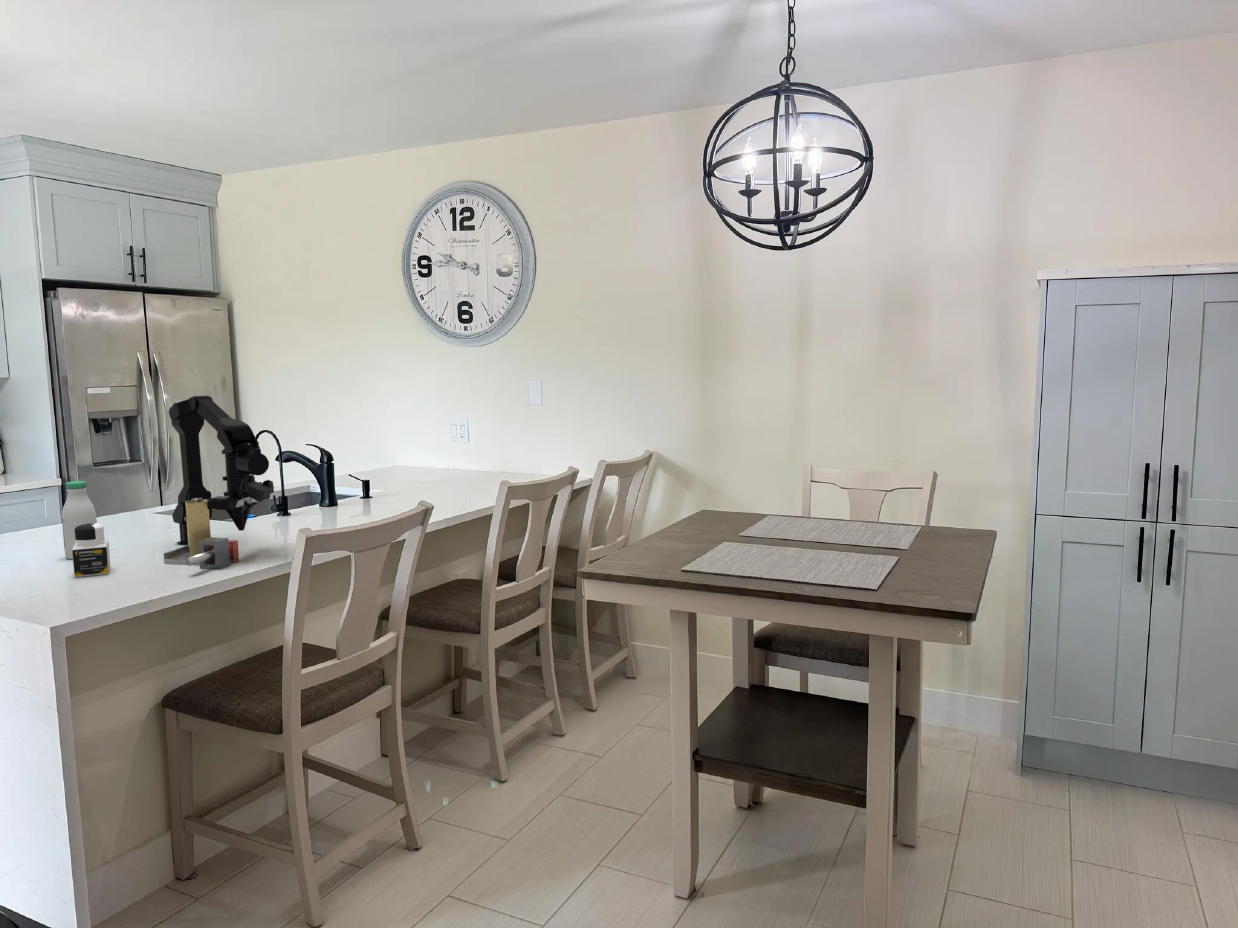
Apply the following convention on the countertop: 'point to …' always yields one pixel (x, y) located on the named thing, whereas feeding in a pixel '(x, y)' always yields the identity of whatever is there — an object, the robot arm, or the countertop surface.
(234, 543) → the ram handle
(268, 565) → the countertop surface
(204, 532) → the tan wooden block
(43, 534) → the countertop surface
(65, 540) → the milk bottle
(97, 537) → the medicine bottle
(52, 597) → the countertop surface
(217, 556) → the block
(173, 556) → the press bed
